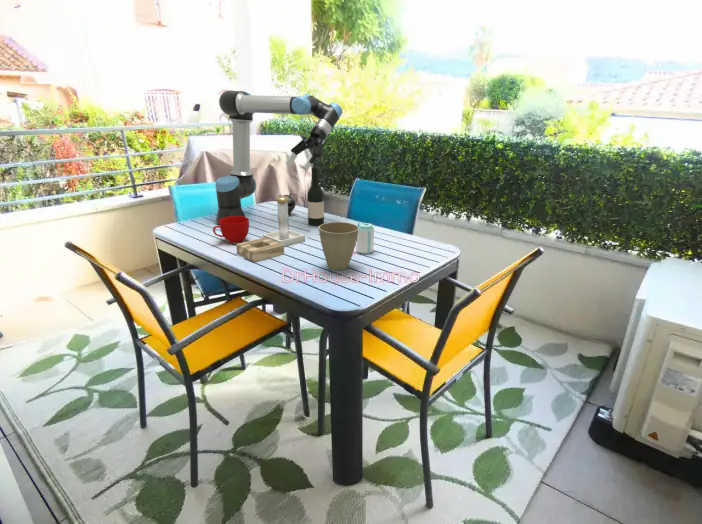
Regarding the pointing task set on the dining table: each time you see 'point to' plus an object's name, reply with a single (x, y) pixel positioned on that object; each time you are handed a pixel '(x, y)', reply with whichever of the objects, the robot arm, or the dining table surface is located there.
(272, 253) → the socket block
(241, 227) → the ceramic cup
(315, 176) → the wine bottle
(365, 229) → the can
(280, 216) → the pin
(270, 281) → the dining table surface
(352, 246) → the plant pot
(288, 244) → the tray
